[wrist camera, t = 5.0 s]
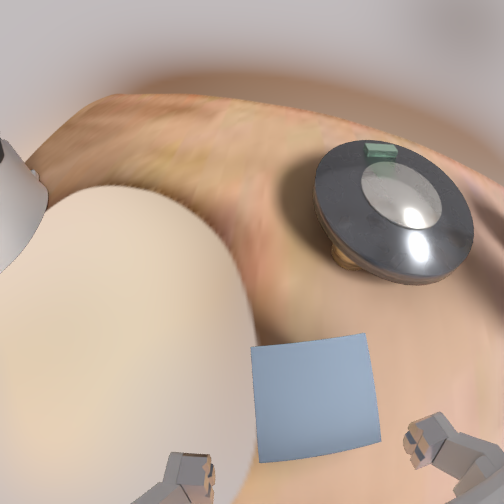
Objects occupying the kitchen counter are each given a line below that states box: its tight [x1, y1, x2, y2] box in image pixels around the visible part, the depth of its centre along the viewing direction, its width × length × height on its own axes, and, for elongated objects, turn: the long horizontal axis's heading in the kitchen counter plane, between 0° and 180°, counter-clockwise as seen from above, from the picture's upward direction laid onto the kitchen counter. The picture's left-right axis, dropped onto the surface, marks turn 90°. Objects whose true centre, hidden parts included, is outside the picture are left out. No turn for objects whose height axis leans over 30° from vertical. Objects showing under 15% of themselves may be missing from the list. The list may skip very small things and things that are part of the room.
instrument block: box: [251, 333, 381, 463], centre depth 12 cm, size 4×4×8 cm
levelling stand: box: [313, 140, 474, 285], centre depth 20 cm, size 14×14×5 cm
